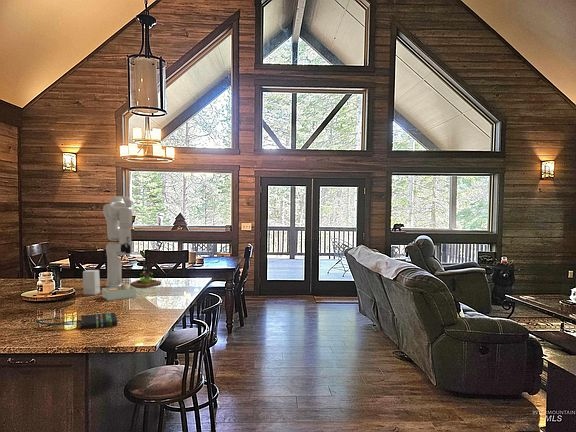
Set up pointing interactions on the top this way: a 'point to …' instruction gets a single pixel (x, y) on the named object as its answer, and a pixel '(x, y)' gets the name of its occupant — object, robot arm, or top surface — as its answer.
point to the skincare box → (91, 282)
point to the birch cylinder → (125, 286)
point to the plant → (145, 282)
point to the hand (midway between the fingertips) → (125, 252)
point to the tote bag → (88, 321)
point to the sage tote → (118, 293)
